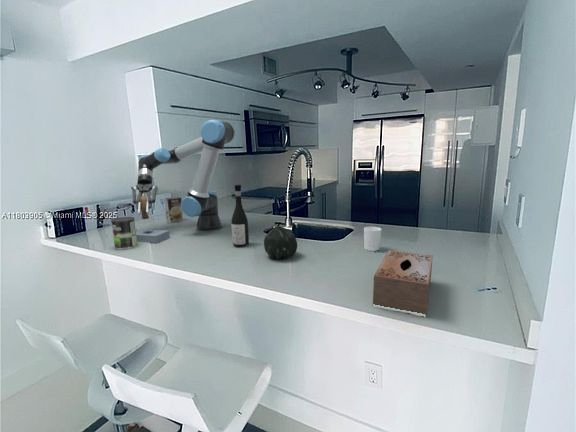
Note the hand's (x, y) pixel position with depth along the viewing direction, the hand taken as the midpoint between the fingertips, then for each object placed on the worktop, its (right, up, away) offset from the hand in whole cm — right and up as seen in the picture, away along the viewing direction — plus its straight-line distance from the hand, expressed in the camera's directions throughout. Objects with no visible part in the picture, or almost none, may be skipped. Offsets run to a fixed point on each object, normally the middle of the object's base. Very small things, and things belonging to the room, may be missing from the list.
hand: (143, 213), depth 159 cm
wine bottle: (+51, -16, -6) cm, 54 cm away
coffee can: (-6, -17, -5) cm, 19 cm away
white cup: (+114, -17, -16) cm, 116 cm away
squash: (+72, -19, -23) cm, 78 cm away
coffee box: (-2, -5, +49) cm, 50 cm away
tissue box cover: (+112, -27, -60) cm, 130 cm away
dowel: (-1, -3, +4) cm, 5 cm away
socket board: (0, -14, +7) cm, 15 cm away
